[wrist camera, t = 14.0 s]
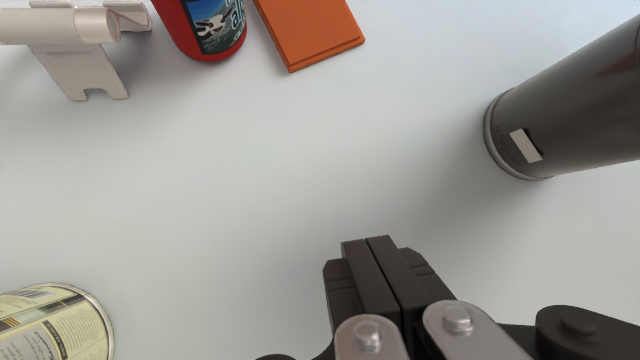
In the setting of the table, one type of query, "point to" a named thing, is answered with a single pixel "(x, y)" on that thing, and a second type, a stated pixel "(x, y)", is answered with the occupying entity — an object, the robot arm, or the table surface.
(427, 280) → the robot arm
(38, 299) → the coffee can
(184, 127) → the table surface
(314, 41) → the folded cloth
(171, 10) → the beverage can
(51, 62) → the tablet stand
